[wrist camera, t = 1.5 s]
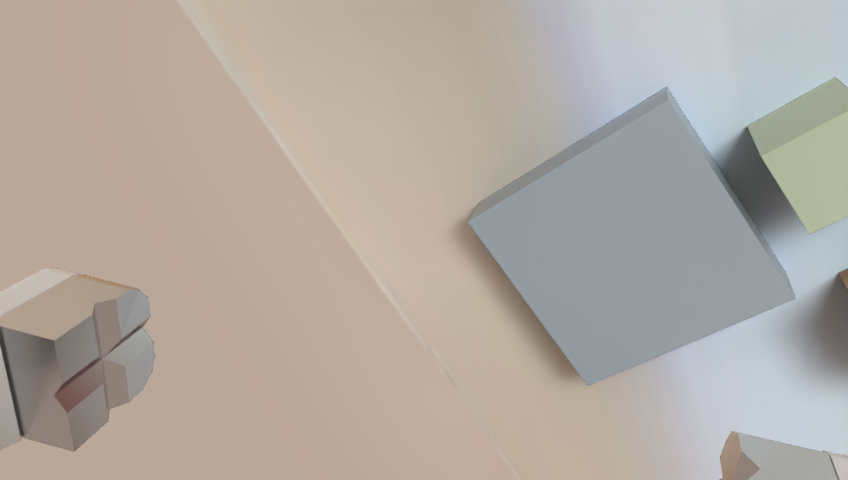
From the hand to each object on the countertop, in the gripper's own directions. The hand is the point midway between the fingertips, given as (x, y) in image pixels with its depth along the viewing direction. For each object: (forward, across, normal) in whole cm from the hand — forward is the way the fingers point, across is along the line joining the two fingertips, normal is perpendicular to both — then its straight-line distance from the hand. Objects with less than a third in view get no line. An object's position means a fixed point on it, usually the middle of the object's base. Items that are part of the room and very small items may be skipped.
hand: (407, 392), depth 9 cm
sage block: (+36, -13, +4) cm, 38 cm away
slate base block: (+36, -4, +12) cm, 38 cm away
